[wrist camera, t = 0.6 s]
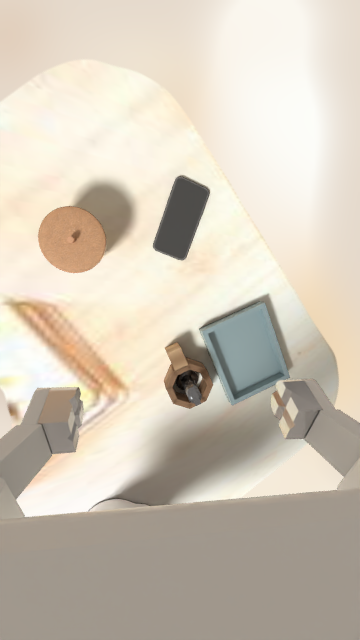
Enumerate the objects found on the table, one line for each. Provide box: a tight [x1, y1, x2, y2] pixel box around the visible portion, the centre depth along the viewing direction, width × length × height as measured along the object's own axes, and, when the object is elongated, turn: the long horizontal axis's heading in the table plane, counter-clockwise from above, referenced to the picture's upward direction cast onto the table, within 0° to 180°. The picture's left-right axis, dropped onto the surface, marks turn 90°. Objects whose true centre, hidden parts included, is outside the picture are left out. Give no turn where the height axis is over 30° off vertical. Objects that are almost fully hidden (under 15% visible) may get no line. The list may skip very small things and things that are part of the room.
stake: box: [175, 370, 202, 406], centre depth 58 cm, size 5×5×10 cm
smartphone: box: [153, 177, 209, 260], centre depth 56 cm, size 7×1×15 cm
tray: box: [199, 301, 290, 405], centre depth 63 cm, size 19×15×2 cm
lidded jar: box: [38, 206, 106, 273], centre depth 49 cm, size 11×11×9 cm
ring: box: [164, 342, 213, 409], centre depth 60 cm, size 14×9×4 cm
